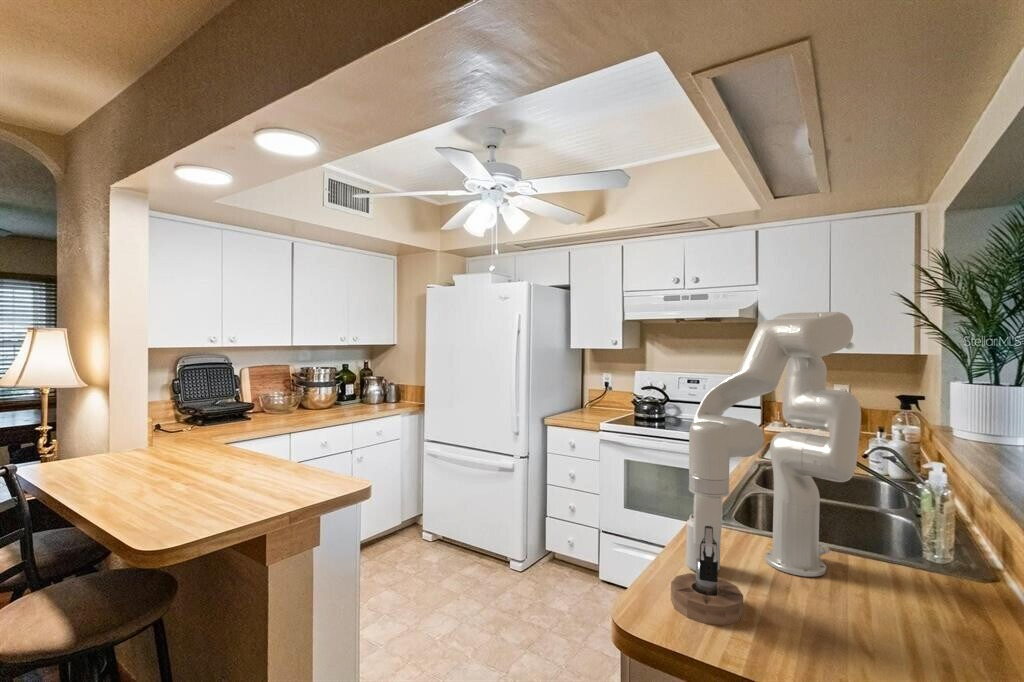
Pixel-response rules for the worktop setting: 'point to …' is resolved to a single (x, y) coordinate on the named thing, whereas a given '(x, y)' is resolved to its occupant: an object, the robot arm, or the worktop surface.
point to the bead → (707, 601)
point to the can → (694, 547)
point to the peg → (704, 583)
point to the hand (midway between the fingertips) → (708, 569)
